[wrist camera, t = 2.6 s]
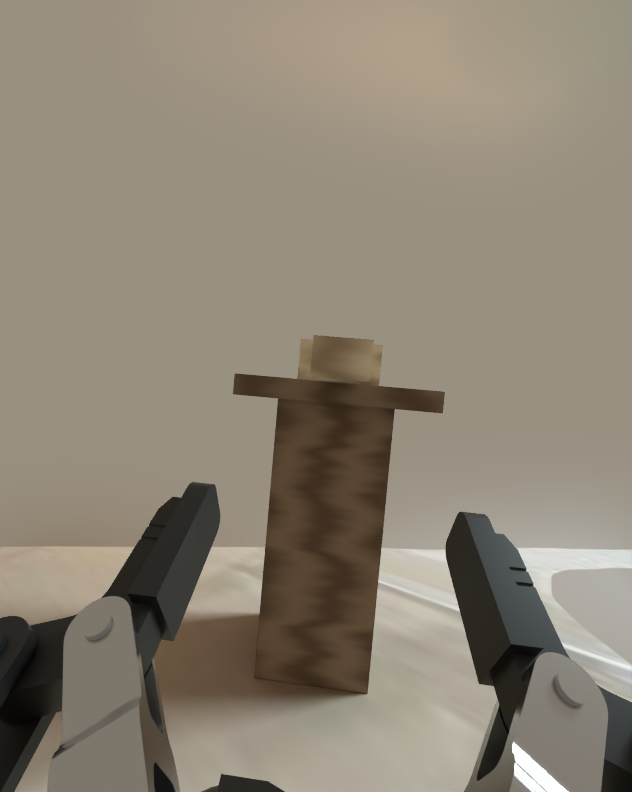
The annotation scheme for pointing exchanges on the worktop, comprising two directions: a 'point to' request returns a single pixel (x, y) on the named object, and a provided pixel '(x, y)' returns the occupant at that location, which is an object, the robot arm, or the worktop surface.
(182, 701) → the worktop surface
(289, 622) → the wooden t-shaped post
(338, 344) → the beige stepped hammer block
